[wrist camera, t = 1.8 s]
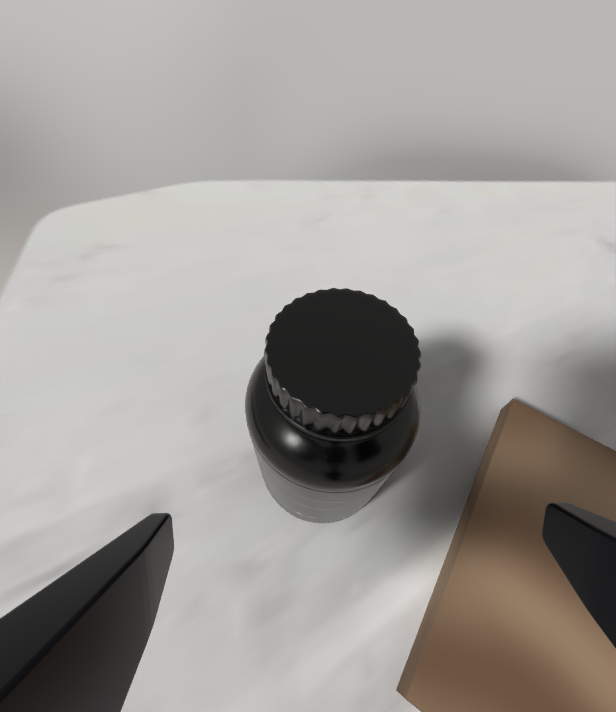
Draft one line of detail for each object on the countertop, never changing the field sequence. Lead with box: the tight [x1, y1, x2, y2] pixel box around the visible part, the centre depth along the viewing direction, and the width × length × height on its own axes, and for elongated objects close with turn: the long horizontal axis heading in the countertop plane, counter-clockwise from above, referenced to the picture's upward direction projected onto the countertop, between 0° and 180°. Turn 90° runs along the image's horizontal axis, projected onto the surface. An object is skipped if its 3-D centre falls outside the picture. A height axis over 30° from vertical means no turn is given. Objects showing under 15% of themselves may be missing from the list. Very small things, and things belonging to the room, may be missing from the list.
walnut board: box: [397, 399, 616, 712], centre depth 17 cm, size 16×14×2 cm
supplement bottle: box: [245, 288, 421, 523], centre depth 16 cm, size 7×7×12 cm
